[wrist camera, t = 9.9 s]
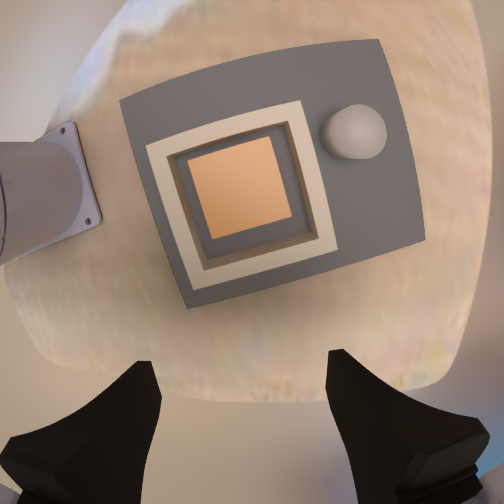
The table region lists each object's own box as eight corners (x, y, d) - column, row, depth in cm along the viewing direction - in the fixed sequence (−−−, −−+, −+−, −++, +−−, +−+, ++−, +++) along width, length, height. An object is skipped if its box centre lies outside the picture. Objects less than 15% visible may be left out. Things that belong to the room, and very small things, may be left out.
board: (189, 302, 22) (178, 335, 18) (124, 102, 18) (96, 90, 13) (418, 236, 21) (452, 253, 17) (373, 43, 17) (400, 21, 12)
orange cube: (219, 221, 19) (212, 239, 15) (200, 161, 18) (187, 160, 14) (280, 204, 19) (291, 216, 15) (262, 142, 18) (269, 136, 14)
